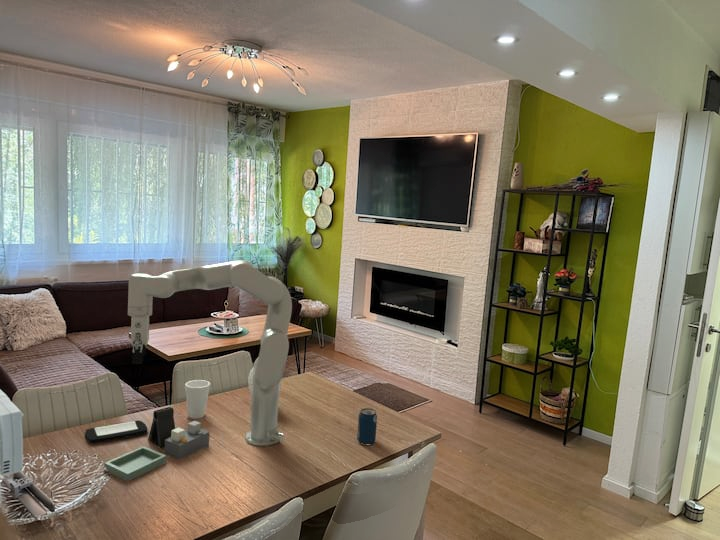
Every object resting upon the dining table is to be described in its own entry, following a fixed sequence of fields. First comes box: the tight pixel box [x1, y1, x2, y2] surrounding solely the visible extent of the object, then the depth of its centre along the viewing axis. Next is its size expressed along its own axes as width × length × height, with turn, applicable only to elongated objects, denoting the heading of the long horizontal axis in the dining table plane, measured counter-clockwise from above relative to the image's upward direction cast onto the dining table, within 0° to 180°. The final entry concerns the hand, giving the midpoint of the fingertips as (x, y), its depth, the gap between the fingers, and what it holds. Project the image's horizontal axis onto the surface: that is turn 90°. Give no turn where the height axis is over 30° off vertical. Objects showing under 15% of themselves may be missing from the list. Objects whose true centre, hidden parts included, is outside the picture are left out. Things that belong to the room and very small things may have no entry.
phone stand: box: [147, 406, 176, 449], centre depth 170 cm, size 9×6×12 cm, turn 50°
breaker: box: [187, 420, 202, 435], centre depth 170 cm, size 3×3×4 cm
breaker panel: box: [163, 428, 210, 461], centre depth 167 cm, size 7×13×6 cm, turn 152°
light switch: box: [84, 420, 148, 444], centre depth 175 cm, size 20×3×14 cm
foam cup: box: [184, 379, 211, 419], centre depth 194 cm, size 10×9×13 cm
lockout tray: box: [103, 445, 167, 482], centre depth 154 cm, size 11×14×2 cm
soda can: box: [356, 408, 378, 445], centre depth 182 cm, size 7×7×12 cm
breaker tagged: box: [171, 427, 186, 442], centre depth 163 cm, size 3×3×4 cm
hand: (138, 359), depth 166 cm, fingers open, 9 cm apart
